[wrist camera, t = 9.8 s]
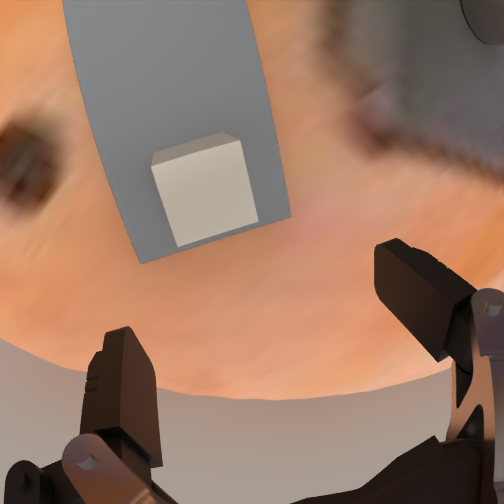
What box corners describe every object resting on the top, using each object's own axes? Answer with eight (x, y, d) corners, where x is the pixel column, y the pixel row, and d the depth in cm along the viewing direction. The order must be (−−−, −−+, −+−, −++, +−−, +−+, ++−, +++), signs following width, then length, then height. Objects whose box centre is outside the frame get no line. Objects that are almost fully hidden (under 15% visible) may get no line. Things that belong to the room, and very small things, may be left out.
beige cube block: (223, 131, 24) (240, 140, 19) (238, 196, 27) (258, 221, 21) (154, 152, 23) (150, 166, 18) (174, 216, 26) (177, 247, 21)
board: (226, -54, 17) (244, -87, 12) (286, 212, 30) (314, 239, 24) (64, -11, 15) (41, -36, 10) (141, 258, 28) (137, 296, 23)
